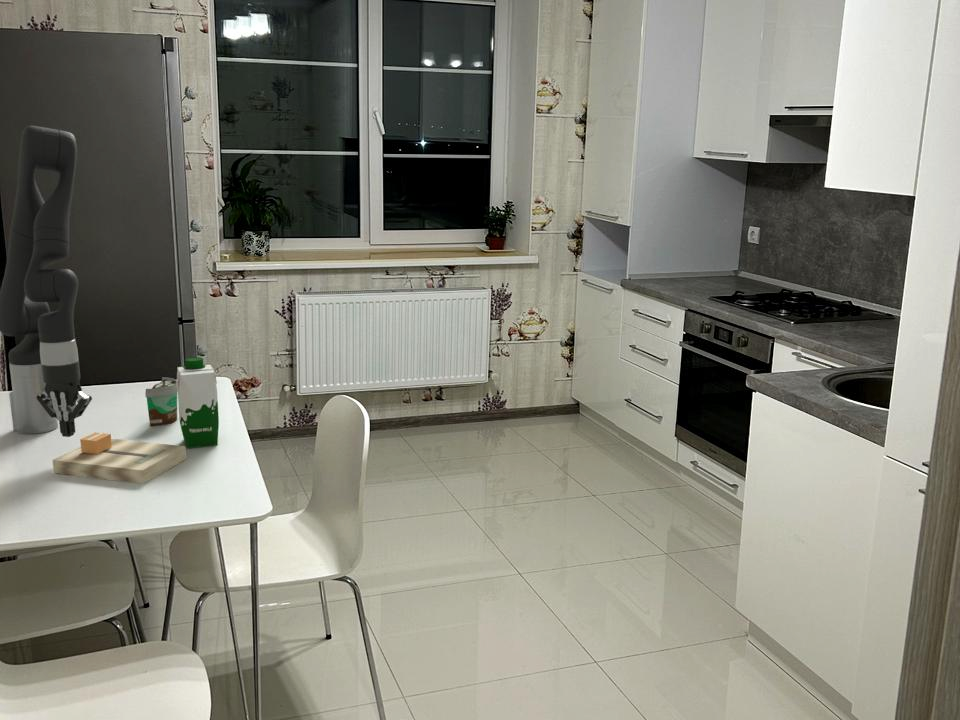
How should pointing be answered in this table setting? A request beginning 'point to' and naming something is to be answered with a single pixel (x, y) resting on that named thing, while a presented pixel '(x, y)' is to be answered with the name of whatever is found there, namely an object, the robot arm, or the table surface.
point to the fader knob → (96, 443)
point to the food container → (162, 402)
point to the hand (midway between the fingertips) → (68, 435)
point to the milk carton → (198, 403)
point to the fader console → (122, 461)
